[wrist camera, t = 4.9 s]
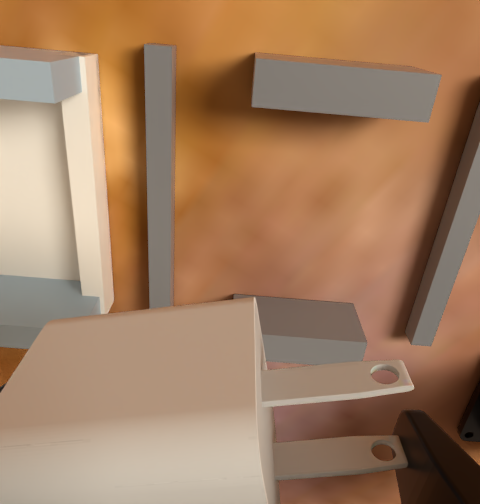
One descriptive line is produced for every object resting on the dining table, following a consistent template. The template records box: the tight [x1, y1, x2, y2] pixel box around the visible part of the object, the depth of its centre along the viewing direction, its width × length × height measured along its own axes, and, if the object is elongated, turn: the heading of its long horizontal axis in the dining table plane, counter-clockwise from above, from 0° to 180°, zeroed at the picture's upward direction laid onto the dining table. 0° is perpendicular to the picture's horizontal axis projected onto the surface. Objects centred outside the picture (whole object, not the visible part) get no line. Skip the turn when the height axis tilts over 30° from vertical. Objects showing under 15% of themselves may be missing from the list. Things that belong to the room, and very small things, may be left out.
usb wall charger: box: [0, 297, 414, 504], centre depth 8 cm, size 4×7×4 cm, turn 98°
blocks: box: [144, 43, 480, 365], centre depth 18 cm, size 12×14×3 cm
